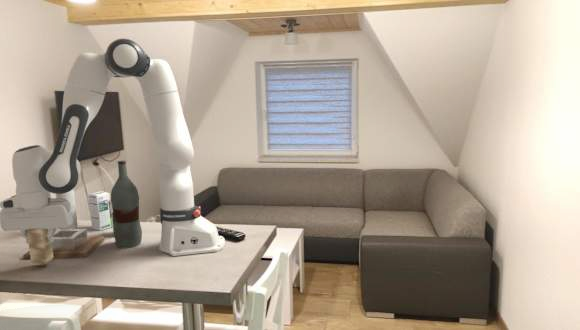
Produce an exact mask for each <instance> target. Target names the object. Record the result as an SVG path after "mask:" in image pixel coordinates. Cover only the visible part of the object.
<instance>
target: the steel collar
mask: <svg viewBox="0 0 580 330" xmlns="http://www.w3.org/2000/svg"><path fill="white" fill-rule="evenodd" d="M88 237H89V236H88V229H87V228H78V229H62V230H60V229H56V231H55V233H54V235H53V239H54V241H53V242H52V249H53V251H60V250H75V249H76V248H78V247H79V246H80V245H81V244H83V243H84V242H85V241H86V240H88Z"/></svg>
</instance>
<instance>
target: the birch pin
mask: <svg viewBox="0 0 580 330" xmlns="http://www.w3.org/2000/svg"><path fill="white" fill-rule="evenodd" d="M49 234H50V232H48V229H28V230H27V236H28V251H30V258H31V259H30V263H31V264H30V265H46V264H48V263H49V262H51V261H52V260H53V259H55V258H54V256H53V249H52V242H51V243H46V237H47V236H49Z"/></svg>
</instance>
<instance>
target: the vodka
mask: <svg viewBox="0 0 580 330" xmlns="http://www.w3.org/2000/svg"><path fill="white" fill-rule="evenodd" d="M117 167H118V169H117V171H118V178H117V179H116V182H115V183H114V185H112V189H111V192H110V204H111V209H112V212H113V214H114V220H115V224H114V231H113V236H114V242H115V244H116V247H117V248H120V249H129V248H135V247H137V246H139V245H141V243H142V239H143V229H142V225H141V221H140V196H139V195H140V194H139V190H138V188H137V186H136V185H135V184H134V182H133V181H132V180H131V179H130V178H129V176H128V171H127V161H126V160H118V161H117Z"/></svg>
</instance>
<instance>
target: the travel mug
mask: <svg viewBox="0 0 580 330" xmlns="http://www.w3.org/2000/svg"><path fill="white" fill-rule="evenodd" d="M74 190H75V188H73V189H72V190H71V191H69V192H67V193H63V194H55V198H57V199H59V198H64V199H66V200H68V201H69V202H70V210H71V214H72V218H73V223H72V225H71V226H69V227H68V228H60V229H59V230H62V229H79V227H78V219H77V208H76V199H75V191H74Z"/></svg>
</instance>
